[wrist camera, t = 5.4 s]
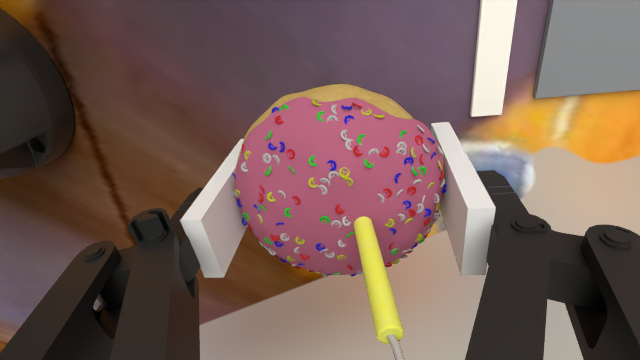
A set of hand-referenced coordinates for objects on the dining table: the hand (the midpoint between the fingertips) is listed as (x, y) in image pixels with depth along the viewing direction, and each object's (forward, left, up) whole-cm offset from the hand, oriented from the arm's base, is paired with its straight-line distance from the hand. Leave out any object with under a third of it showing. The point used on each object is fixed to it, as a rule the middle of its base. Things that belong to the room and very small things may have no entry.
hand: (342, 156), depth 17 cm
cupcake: (0, 0, -2) cm, 2 cm away
